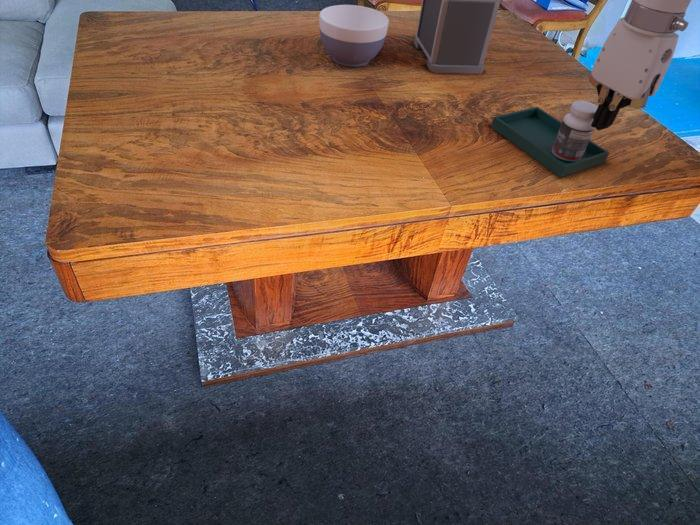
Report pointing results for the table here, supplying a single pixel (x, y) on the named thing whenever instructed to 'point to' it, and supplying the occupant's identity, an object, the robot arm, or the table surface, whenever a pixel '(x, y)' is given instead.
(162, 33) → the table surface
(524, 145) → the tray
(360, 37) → the bowl
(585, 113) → the pill bottle
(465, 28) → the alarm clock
